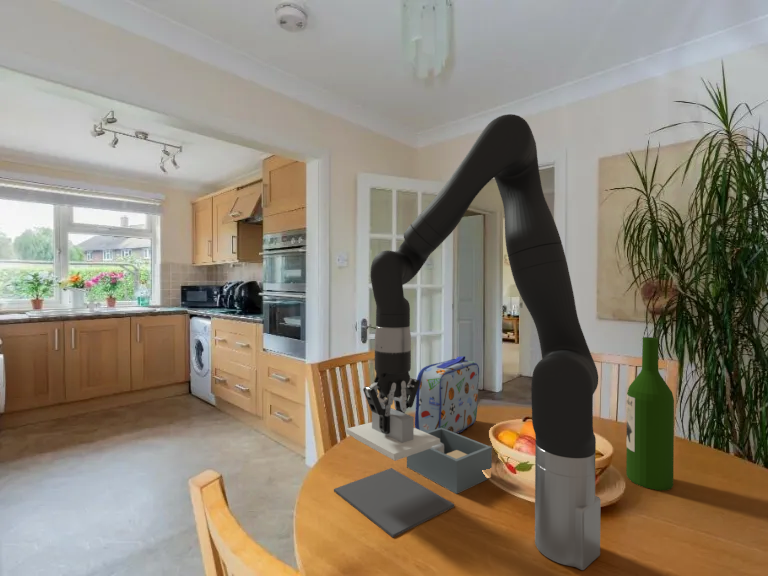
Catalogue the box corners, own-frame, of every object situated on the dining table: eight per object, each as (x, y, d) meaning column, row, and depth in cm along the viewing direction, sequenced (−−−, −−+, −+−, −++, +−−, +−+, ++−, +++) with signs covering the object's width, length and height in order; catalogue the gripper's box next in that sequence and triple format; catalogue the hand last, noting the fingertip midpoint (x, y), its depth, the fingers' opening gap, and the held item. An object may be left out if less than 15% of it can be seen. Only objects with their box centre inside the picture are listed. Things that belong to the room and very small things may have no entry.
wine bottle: (620, 470, 96) (621, 334, 96) (661, 473, 94) (663, 336, 94) (635, 488, 88) (636, 340, 87) (681, 492, 86) (683, 341, 85)
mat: (454, 506, 80) (454, 504, 80) (392, 537, 70) (392, 534, 70) (391, 470, 96) (391, 467, 96) (333, 491, 86) (333, 488, 86)
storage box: (491, 477, 92) (491, 447, 92) (456, 494, 85) (456, 461, 85) (441, 454, 105) (441, 427, 105) (406, 466, 98) (406, 438, 98)
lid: (440, 448, 80) (440, 416, 80) (394, 464, 73) (394, 429, 73) (390, 425, 93) (390, 398, 93) (346, 437, 86) (346, 407, 86)
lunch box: (454, 414, 137) (454, 350, 137) (483, 420, 131) (483, 353, 131) (410, 439, 115) (410, 363, 115) (442, 448, 109) (442, 367, 109)
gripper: (376, 354, 76) (375, 445, 76) (429, 347, 84) (429, 428, 84) (354, 348, 81) (353, 433, 82) (406, 342, 90) (405, 419, 90)
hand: (392, 430), depth 83 cm, fingers closed on lid, 3 cm apart
